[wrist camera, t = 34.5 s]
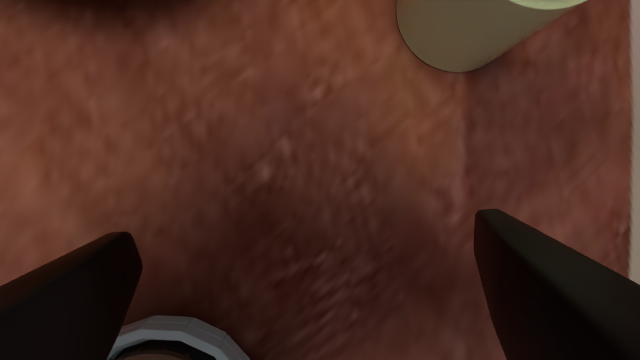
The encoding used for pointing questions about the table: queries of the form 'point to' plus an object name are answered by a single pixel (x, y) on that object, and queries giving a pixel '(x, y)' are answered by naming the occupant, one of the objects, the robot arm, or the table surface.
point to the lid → (162, 351)
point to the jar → (473, 28)
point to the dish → (179, 336)
